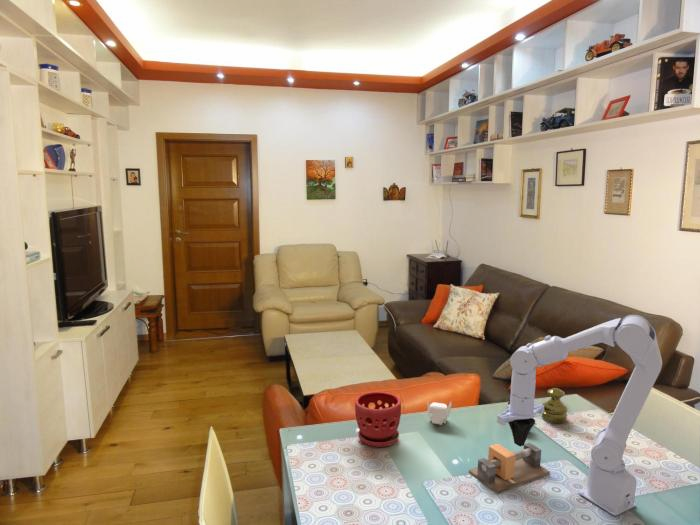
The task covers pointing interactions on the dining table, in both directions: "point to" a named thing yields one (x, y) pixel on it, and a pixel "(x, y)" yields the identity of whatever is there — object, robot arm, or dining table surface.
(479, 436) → the dining table surface
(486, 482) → the sliding block rail
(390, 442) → the plant pot
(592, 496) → the robot arm
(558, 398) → the olive green vase
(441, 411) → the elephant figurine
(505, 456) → the collar
